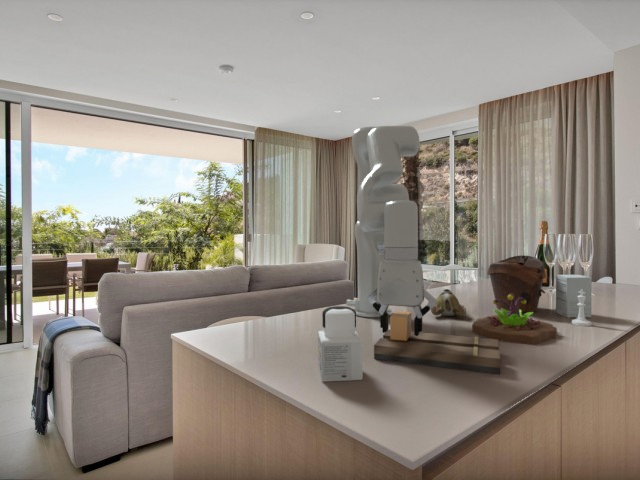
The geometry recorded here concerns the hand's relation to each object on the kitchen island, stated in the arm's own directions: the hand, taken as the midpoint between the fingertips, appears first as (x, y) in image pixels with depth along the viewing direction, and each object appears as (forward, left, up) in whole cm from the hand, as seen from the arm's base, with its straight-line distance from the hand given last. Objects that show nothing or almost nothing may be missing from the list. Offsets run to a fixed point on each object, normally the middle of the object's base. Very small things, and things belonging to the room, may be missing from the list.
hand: (401, 332), depth 91 cm
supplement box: (+44, +56, -5) cm, 71 cm away
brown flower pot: (+28, +60, -5) cm, 66 cm away
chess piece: (+44, +44, -5) cm, 62 cm away
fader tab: (0, 0, -3) cm, 3 cm away
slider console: (+8, 0, -4) cm, 9 cm away
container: (-8, -18, -5) cm, 20 cm away
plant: (+25, +27, -5) cm, 37 cm away
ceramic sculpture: (+7, +43, -5) cm, 44 cm away
